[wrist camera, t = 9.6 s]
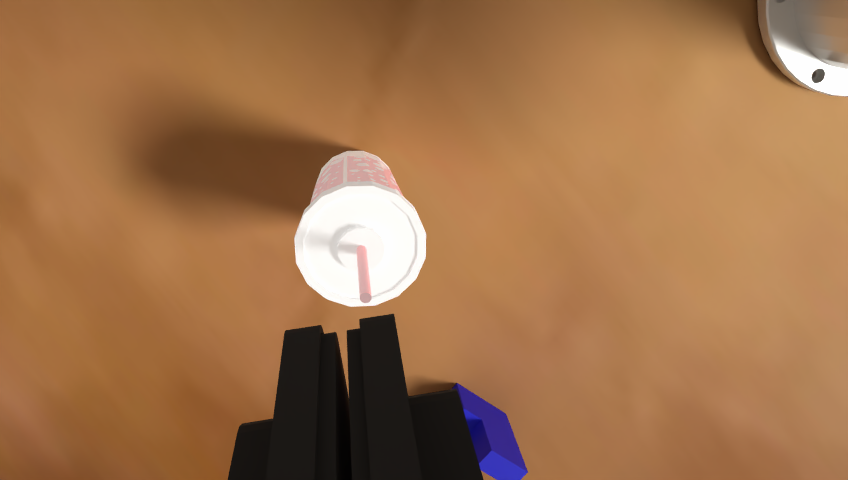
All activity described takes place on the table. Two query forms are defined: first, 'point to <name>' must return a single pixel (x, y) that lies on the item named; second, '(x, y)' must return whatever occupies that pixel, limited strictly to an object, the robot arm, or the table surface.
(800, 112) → the table surface
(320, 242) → the beverage cup
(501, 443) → the cable clip
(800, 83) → the robot arm
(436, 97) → the table surface
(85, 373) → the table surface
